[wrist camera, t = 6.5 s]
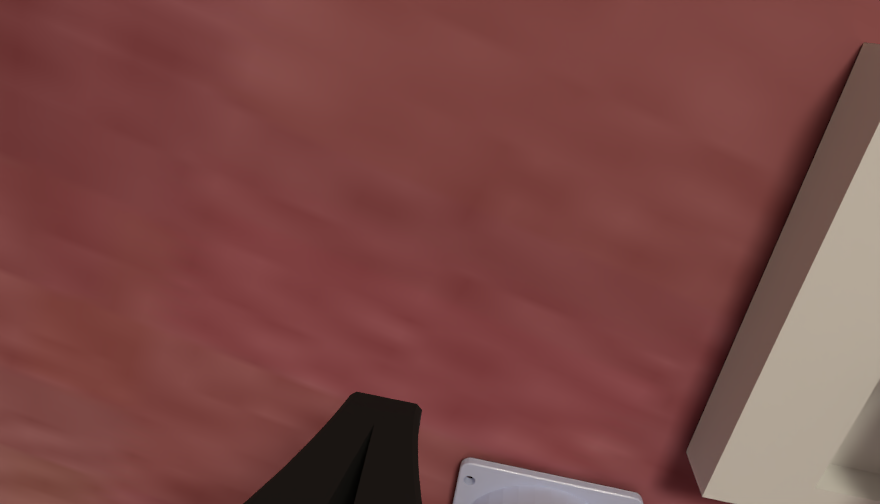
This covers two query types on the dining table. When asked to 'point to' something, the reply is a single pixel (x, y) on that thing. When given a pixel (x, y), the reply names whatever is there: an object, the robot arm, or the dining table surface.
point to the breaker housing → (810, 336)
